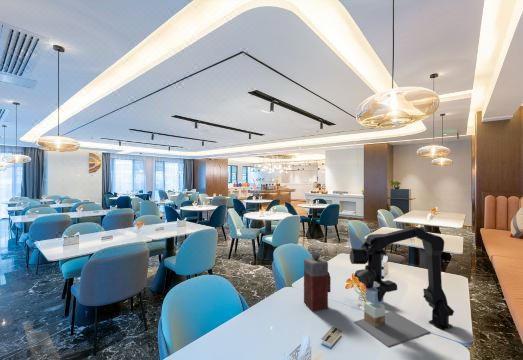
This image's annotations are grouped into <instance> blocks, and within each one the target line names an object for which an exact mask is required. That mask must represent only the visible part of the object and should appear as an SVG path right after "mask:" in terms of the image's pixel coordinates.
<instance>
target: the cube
mask: <svg viewBox="0 0 523 360" xmlns="http://www.w3.org/2000/svg"><path fill="white" fill-rule="evenodd" d="M365 300H366V302H368V301H369V302H371V303H372V304H374V305H377V304H384V297H383V298H382V300H381V302H378V290H377V289H376V288H375V287H372V288H367V289H366V288H365Z"/></svg>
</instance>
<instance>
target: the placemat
mask: <svg viewBox="0 0 523 360" xmlns="http://www.w3.org/2000/svg"><path fill="white" fill-rule="evenodd" d="M353 323H354V324H355V325H357V326H358V327H360V328H361V329H363V331H365V332H367V333H368V334H369V335H370V336H372V337H374V338H375V339H376V340H377V341H379V342H381V344H383V345H385V346H386V347H387V348H389V347H394V346H395V345H398V344H401V343H403V342H406V341H409V340H412V339H415V338H419V337H422V336H424V335H427V334H430V333H431V331H430V330H428V329H427V328H425V327H423V326H421V325H419V324H417V323H416V322H414V321H412V320H410V319H408V318H406V317H404V316H403V315H400V314H399V313H397V312H395V311H394V310H392V311H391V310H390V311H388V312H385V325H382V326H378V327H373V326H372V325H370V324H369V323H367V322H366V321H364V318H361V319H358V320H355V321H353Z"/></svg>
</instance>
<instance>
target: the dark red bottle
mask: <svg viewBox="0 0 523 360" xmlns="http://www.w3.org/2000/svg"><path fill="white" fill-rule="evenodd" d="M311 256H312V257H305V258H303V304H304V303H305V304H306V305H305V304H304V305H305V306H306V307H307V308H308V309H309V310H310V311H311V312H317V311H323V310H328V309H329V293H331V283H332V281H331V279H332V278H331V274H330V272H329V262H328V261H327V260H325V259H323V258H321V257H320V251H319V250H318V249H317V250H315V249H314V250H312V252H311Z"/></svg>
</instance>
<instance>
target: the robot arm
mask: <svg viewBox="0 0 523 360" xmlns="http://www.w3.org/2000/svg"><path fill="white" fill-rule="evenodd" d="M414 238H416V239H419V240H421V242H422V246H423V249H424V251H425V253H426V261H427V277H428V278H427V280H428V281H427V282H428V285H427V288H423V289H422V290H423V291H422V292H423V296H422V297H423V298H424V300H425V302H426V303H428V305H429V307H430V308H432V311H431V320H428V324H429V323H430V324H431V325H433V326H434V327H438V328H439V329H441V330H443V331H445V330H448V329H449V328H453V327H454V326H453V324H451V323H450V321H449V320H450V318H449V317H450V316H451V317H452V316H454V313H455V311H454V309H452V307H451V306H450V305H449V304H448V300H447V295H446V294H445V291H444V290H443V284H442V267H441V265H442V264H441V255H442V253H443V252H444V250H445V249H444V248H445V240H444V238H443V237H442V236H439V235H436V234H433V233H430V232H427V231H425V230H424V229H422V228H420V227H418V226H415V225H413V226H412V225H411V226H410V227H406V228H403V229H400V230H395V231H391V232H388V233H374V234H373V233H372V234H371V233H370V234H368V235H367V236H366V239H365V242H364V243H363V244H362V245H361V246H360V248H357V247H356V248H355V247H351V249H350V253H349V262H350V264H351V265H365V267H364V269H363V268H361V269H357V270H356V271H355V273H354V277H355V278H357V279H358V282H359V283H362V284H363V285H365V290H366V289H367V288H372V287H373V284H374V282H376V283H378V284H379V287H376V289H377V290H378V302H381V300H382V298H383V299H384V297H385V294H386V293H391V292H395V291H398V284H397V283H396V282H394V281H392V280H383V279H385V276H384V275H383V270H384V269H385V267H384V266H383V265H382V264H383V257H382V255H383V256H384V255H388V252H386V251H385V250H384V249H386V248H387V247H388V246H390V245H392V244H395V243H397V242H402V241H405V240H409V239H414Z"/></svg>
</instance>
